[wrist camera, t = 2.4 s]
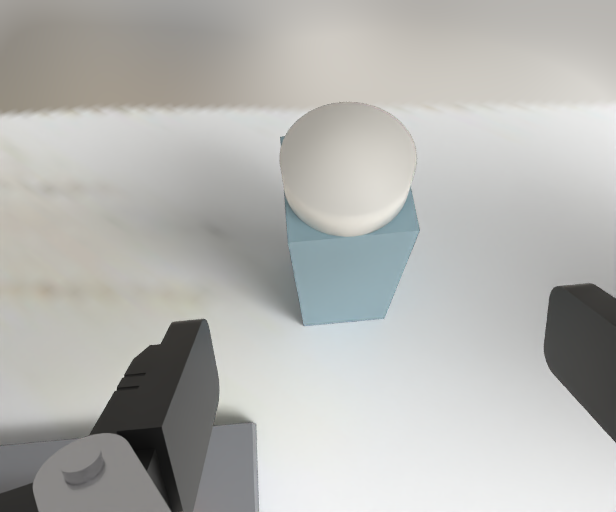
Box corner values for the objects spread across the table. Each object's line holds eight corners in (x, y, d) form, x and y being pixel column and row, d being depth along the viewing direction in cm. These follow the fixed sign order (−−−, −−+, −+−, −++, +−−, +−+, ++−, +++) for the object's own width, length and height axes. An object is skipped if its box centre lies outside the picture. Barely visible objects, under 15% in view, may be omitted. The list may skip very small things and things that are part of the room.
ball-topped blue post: (372, 246, 26) (403, 96, 15) (384, 318, 25) (428, 207, 14) (297, 253, 26) (275, 108, 15) (303, 326, 25) (283, 221, 14)
